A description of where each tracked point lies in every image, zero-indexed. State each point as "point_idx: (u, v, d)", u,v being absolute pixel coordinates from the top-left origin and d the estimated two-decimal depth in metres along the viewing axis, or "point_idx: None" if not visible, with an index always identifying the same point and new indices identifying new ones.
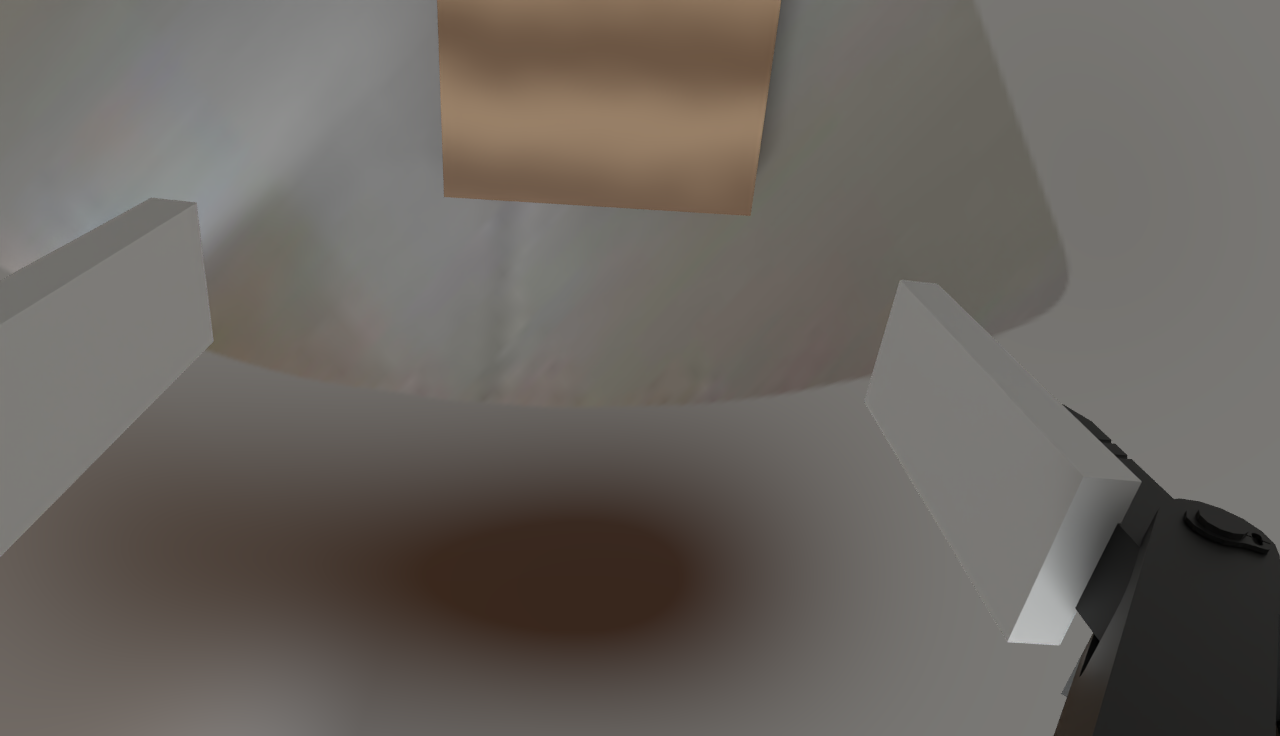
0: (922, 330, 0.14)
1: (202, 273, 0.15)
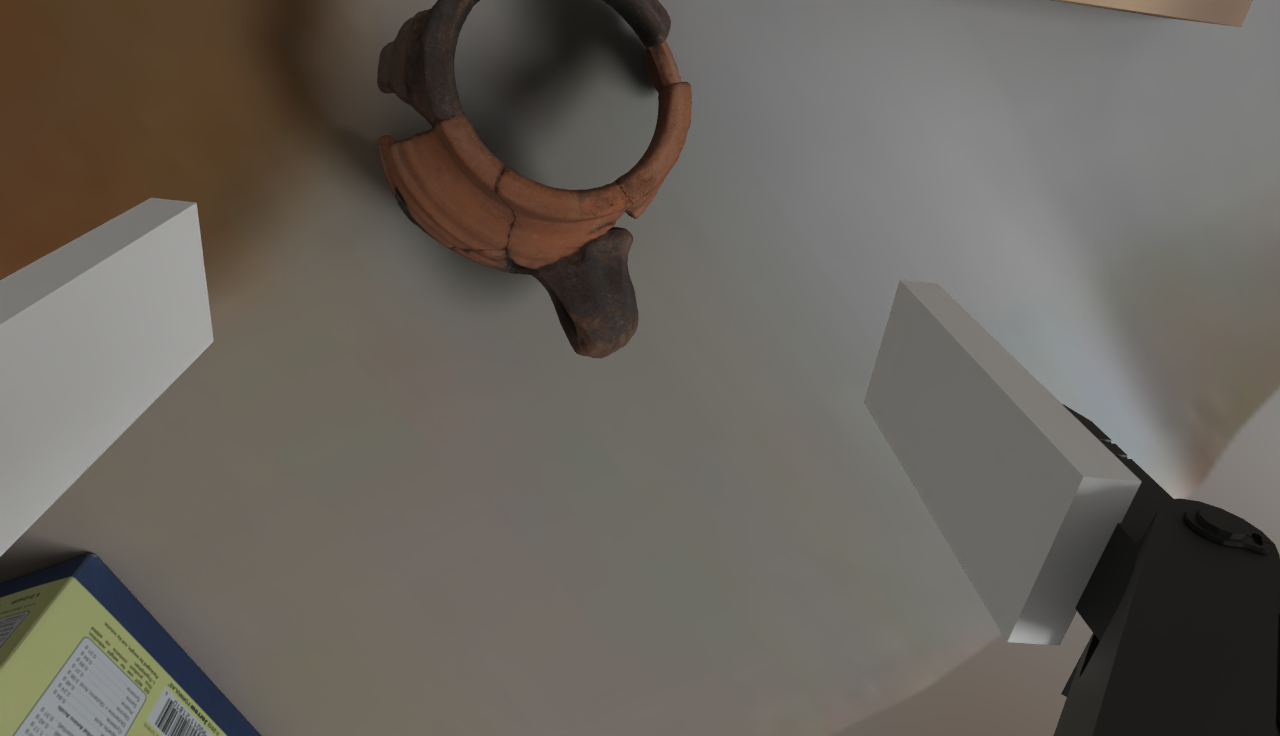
0: (922, 330, 0.14)
1: (202, 273, 0.15)
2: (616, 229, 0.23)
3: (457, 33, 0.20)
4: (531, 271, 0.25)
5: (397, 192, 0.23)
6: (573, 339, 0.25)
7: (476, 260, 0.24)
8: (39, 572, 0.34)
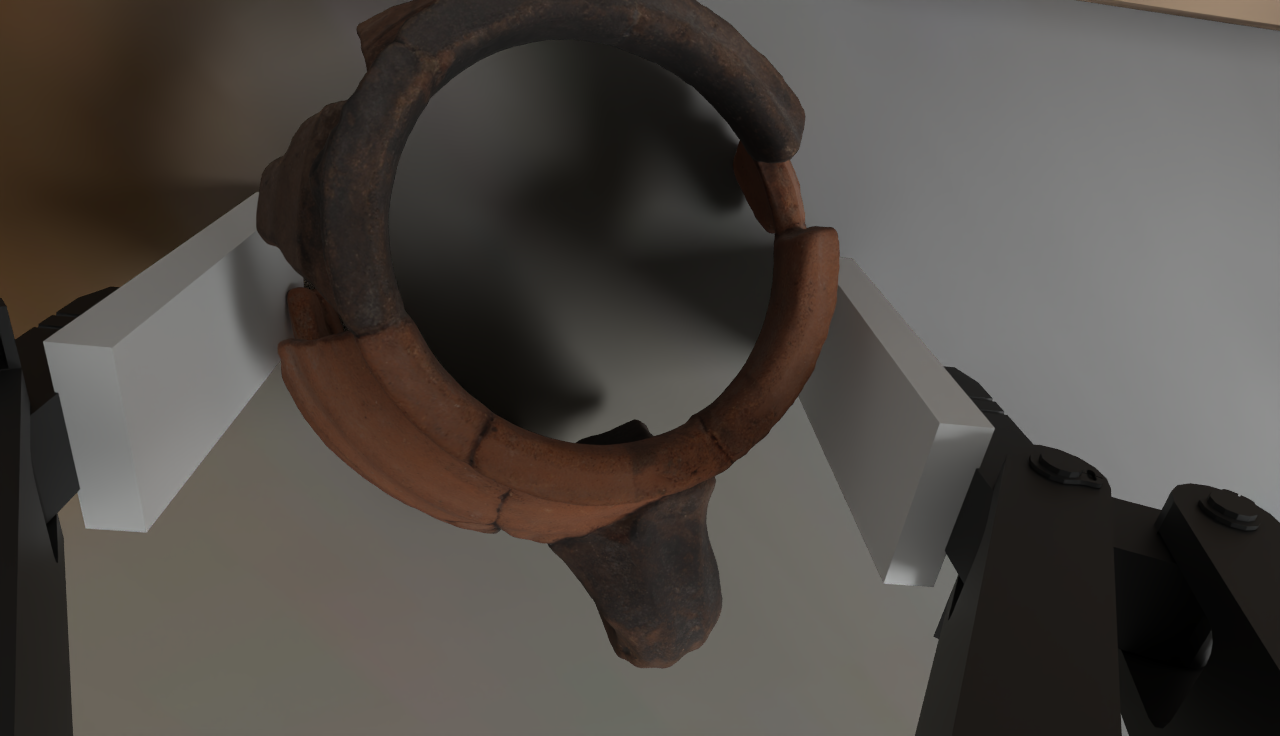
0: None
1: None
2: None
3: (395, 157, 0.10)
4: None
5: None
6: (609, 626, 0.15)
7: None
8: None
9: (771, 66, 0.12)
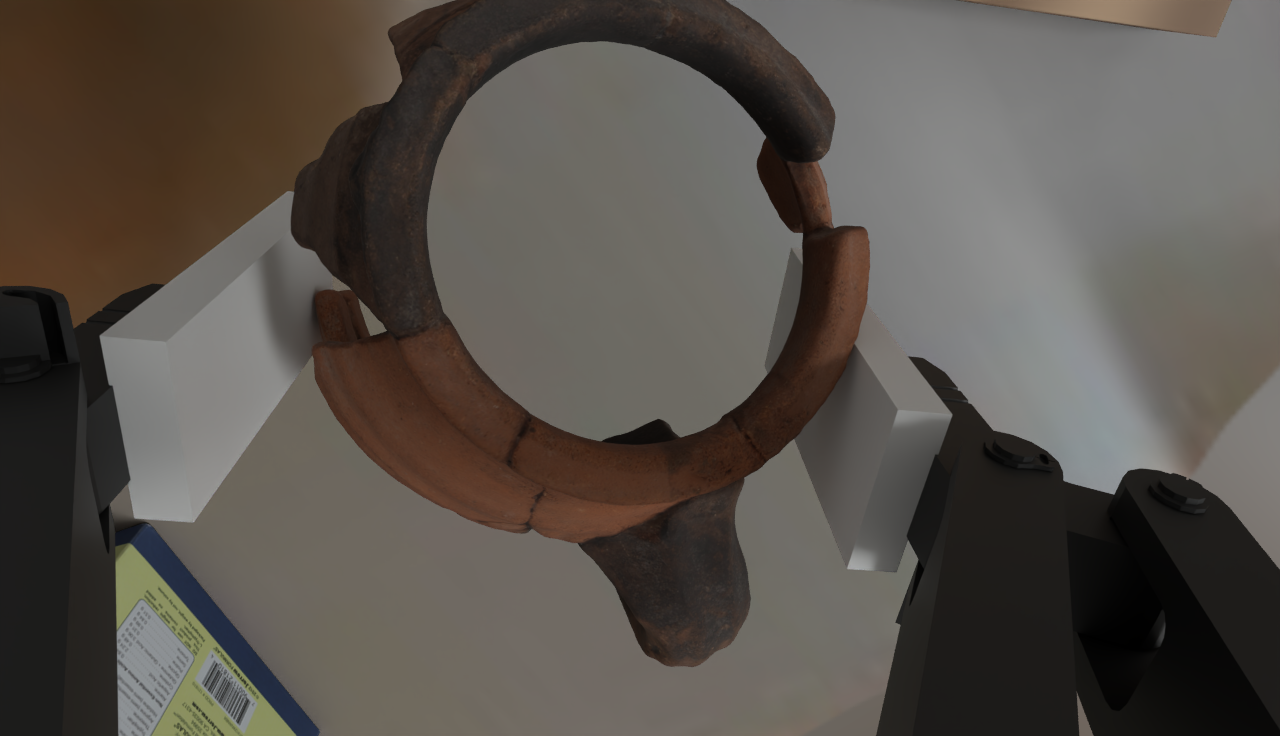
0: None
1: None
2: None
3: (433, 160, 0.10)
4: None
5: None
6: (636, 625, 0.15)
7: None
8: None
9: (801, 66, 0.12)
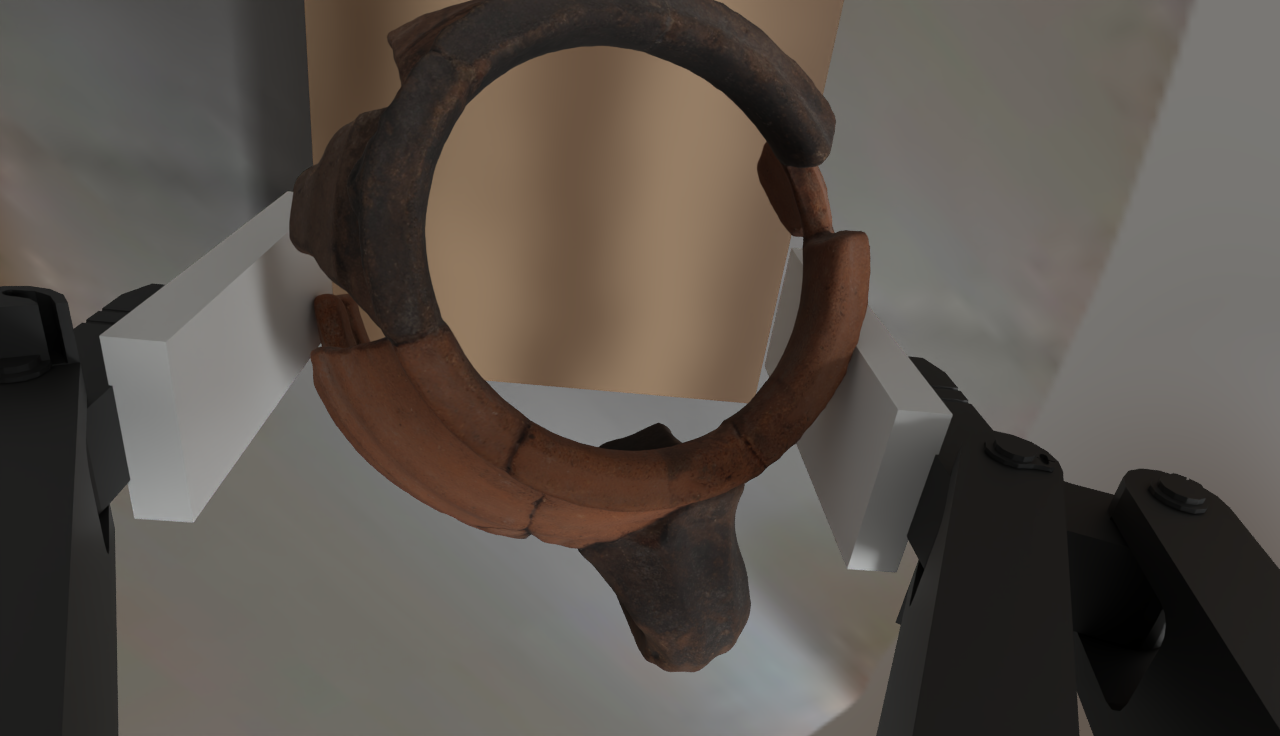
0: None
1: None
2: None
3: (432, 166, 0.10)
4: None
5: None
6: (636, 630, 0.15)
7: None
8: None
9: (802, 71, 0.12)
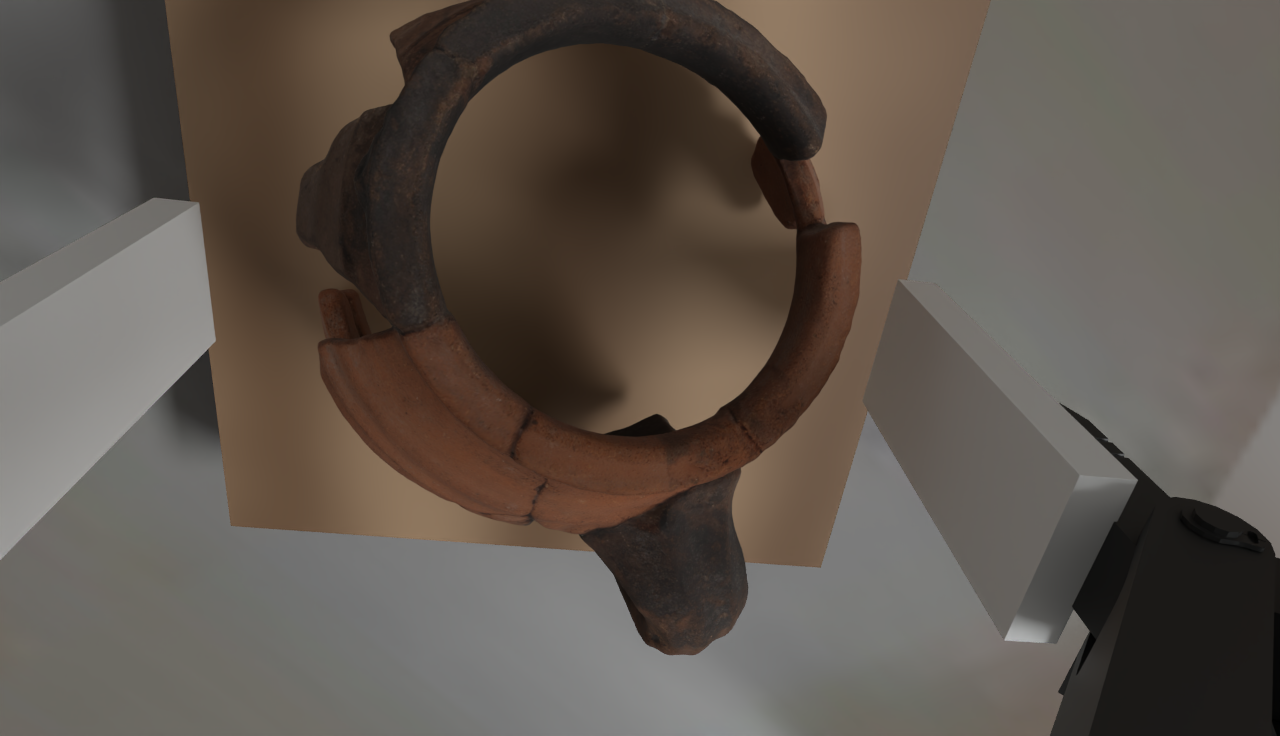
0: (920, 329, 0.14)
1: (204, 273, 0.15)
2: None
3: (436, 161, 0.10)
4: None
5: None
6: (636, 615, 0.16)
7: None
8: None
9: (794, 67, 0.12)
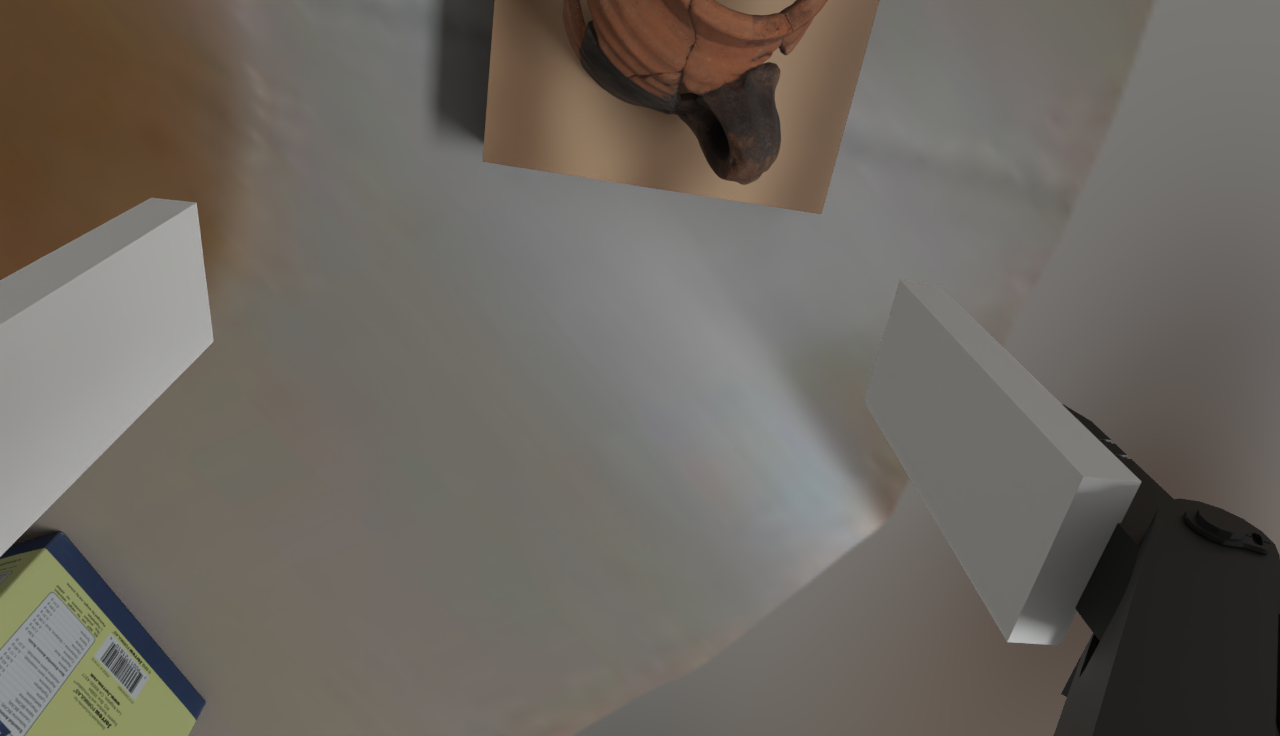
0: (922, 330, 0.14)
1: (202, 273, 0.15)
2: (770, 62, 0.28)
3: None
4: (691, 103, 0.29)
5: (589, 26, 0.28)
6: (721, 166, 0.30)
7: (649, 89, 0.29)
8: (22, 544, 0.46)
9: None
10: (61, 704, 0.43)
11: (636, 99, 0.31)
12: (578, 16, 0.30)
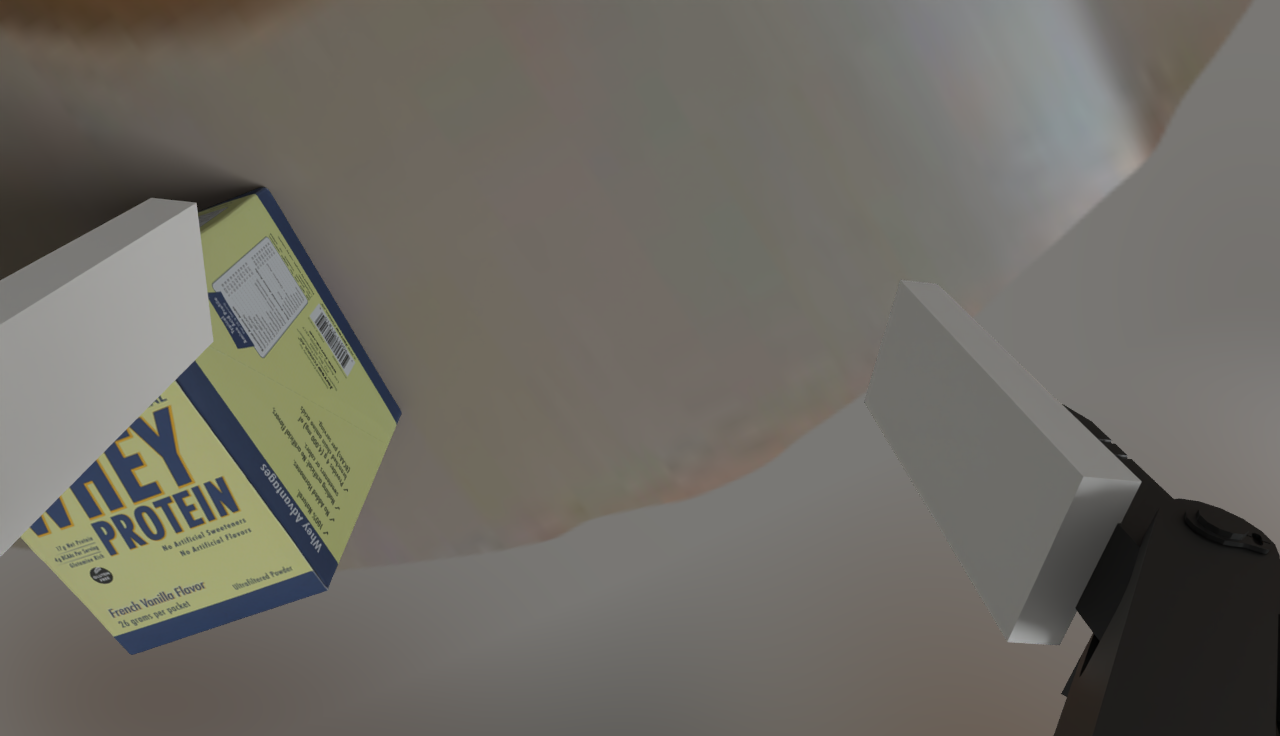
0: (922, 330, 0.14)
1: (202, 273, 0.15)
2: None
3: None
4: None
5: None
6: None
7: None
8: (224, 201, 0.42)
9: None
10: (290, 344, 0.39)
11: None
12: None
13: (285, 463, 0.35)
